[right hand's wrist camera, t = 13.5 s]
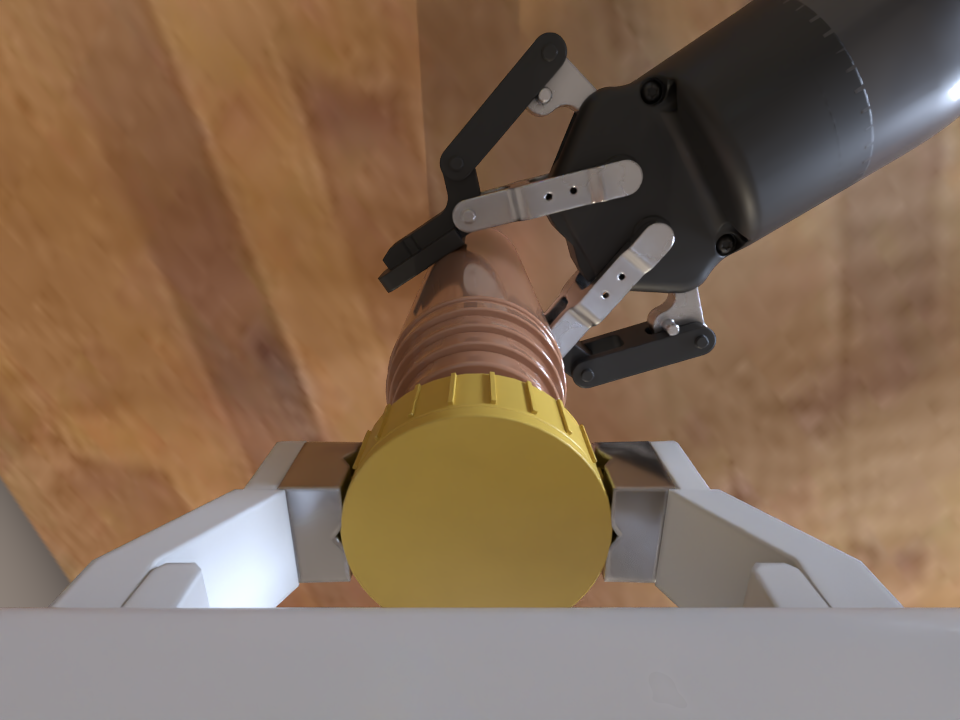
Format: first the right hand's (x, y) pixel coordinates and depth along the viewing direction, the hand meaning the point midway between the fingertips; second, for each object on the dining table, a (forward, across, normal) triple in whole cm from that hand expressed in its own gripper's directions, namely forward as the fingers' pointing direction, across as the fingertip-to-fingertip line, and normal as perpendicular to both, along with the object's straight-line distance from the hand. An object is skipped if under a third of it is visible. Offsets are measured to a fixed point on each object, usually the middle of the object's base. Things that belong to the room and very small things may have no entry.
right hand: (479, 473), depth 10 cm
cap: (-2, 0, 0) cm, 2 cm away
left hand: (+13, -2, -2) cm, 14 cm away
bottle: (+20, 0, 0) cm, 20 cm away
